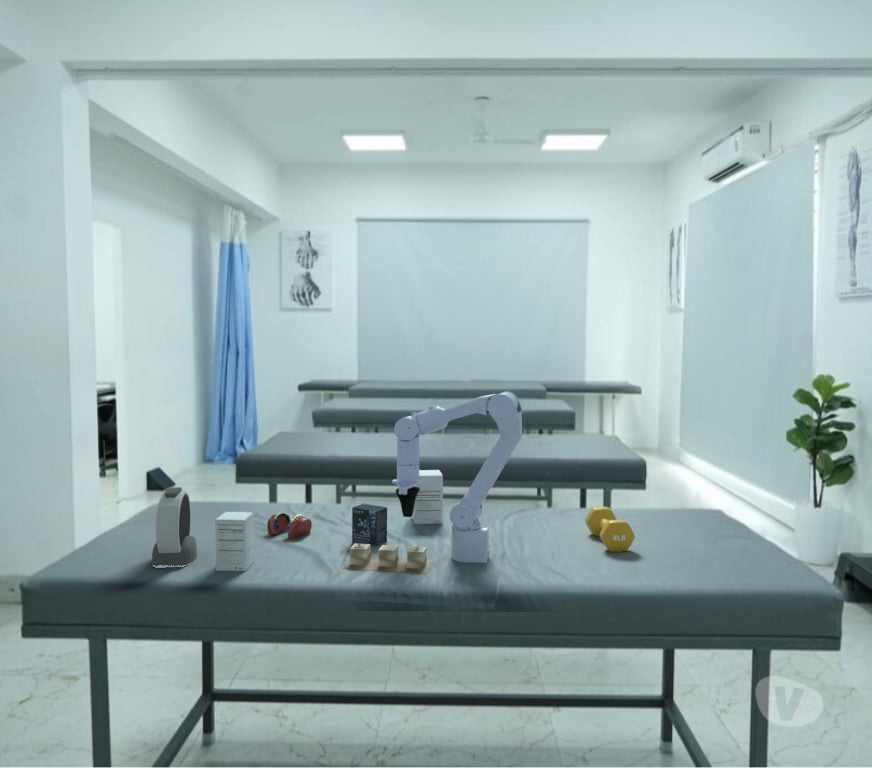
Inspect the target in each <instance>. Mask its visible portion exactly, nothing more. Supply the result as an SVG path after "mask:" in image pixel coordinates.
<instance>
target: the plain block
mask: <svg viewBox="0 0 872 768" xmlns="http://www.w3.org/2000/svg"><path fill="white" fill-rule="evenodd" d="M378 557H379V566H384V567H395V566H396V565H397V563H398V558H399V545H394V544H393V545H392V544H391V545H389V544H381V546H379V549H378Z"/></svg>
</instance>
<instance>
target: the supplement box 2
mask: <svg viewBox="0 0 872 768" xmlns="http://www.w3.org/2000/svg"><path fill="white" fill-rule="evenodd" d="M419 480H420V484H419V485H417V486H414V487H420V490H419V492H418V495H417V497H416V501H415V505H414V510H413V515H412V517H411V518H412V521H413V524H414V525H433V524H434V525H441V524H443V523H444V520H443V518H444V517H443V516H444V514H443V513H444V511H443V510H444V506H443V505H444V504H443V503H444V476H443V474H442V472H441V470H439V469H425V470H423V469H419Z"/></svg>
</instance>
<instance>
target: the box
mask: <svg viewBox="0 0 872 768" xmlns="http://www.w3.org/2000/svg"><path fill="white" fill-rule="evenodd" d="M351 510H352V512H351V513H352V514H351V517H352V518H351V529H352V531H351V538H352V539H351V542H352V543H353V544H370V547H374V548H375V547H378V546H380V545H381V546H382V545H384V544H385V543H387V542H388V507H387V506H383V505H375V504H368V503H362V504H359V505H355V506H353V507H352V508H351Z"/></svg>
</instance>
